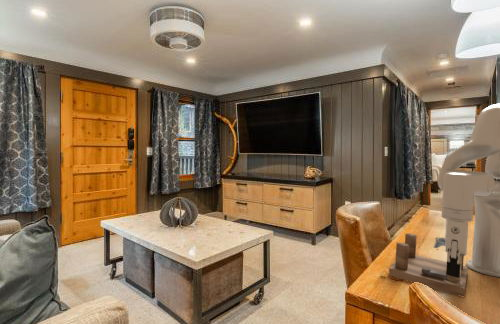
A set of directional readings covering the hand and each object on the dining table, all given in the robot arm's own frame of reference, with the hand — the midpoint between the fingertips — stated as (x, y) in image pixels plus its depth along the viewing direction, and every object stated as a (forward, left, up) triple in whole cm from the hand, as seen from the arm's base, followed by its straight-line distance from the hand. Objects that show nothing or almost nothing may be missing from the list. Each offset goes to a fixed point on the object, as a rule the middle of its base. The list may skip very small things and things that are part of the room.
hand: (453, 272), depth 86 cm
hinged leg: (+2, -2, -2) cm, 4 cm away
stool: (0, -9, -5) cm, 11 cm away
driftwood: (-30, -35, -6) cm, 47 cm away
